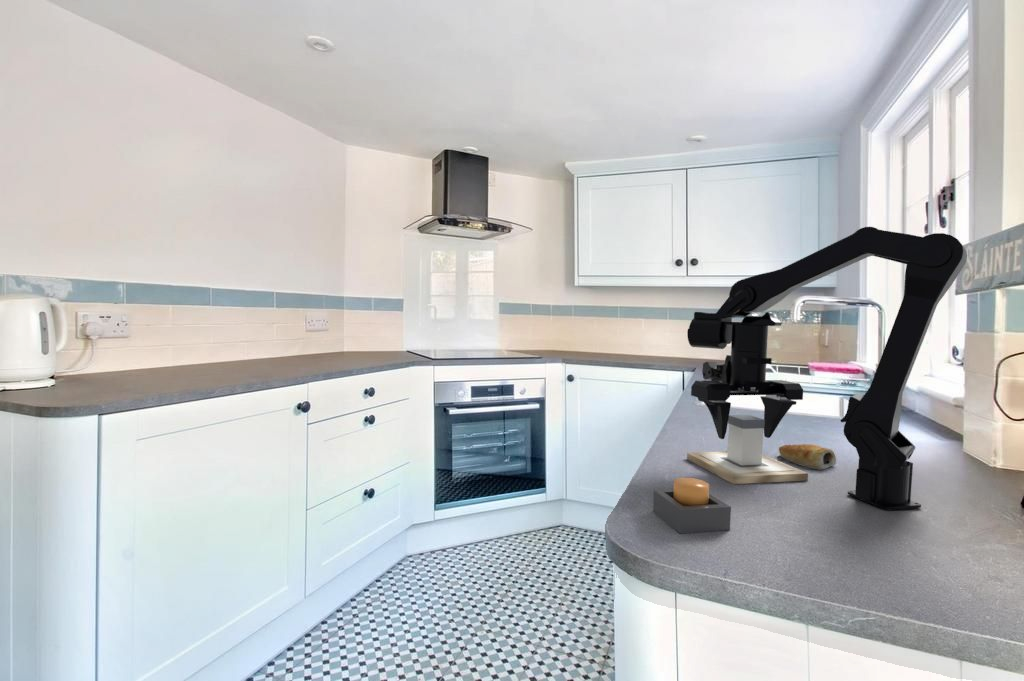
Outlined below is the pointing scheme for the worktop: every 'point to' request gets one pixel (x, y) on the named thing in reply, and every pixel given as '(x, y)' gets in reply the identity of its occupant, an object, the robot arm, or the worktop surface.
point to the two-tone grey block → (745, 439)
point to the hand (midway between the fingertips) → (744, 437)
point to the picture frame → (746, 469)
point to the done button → (691, 492)
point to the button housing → (691, 513)
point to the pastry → (809, 455)
